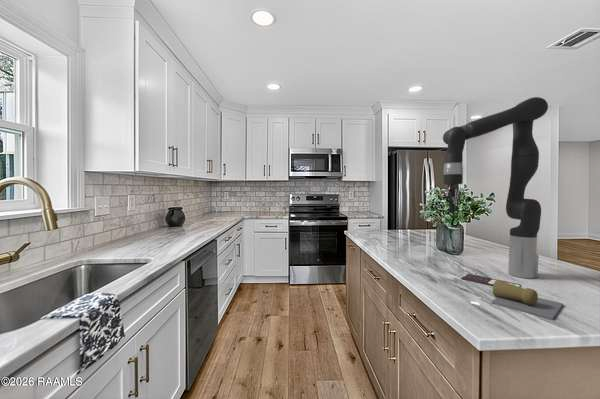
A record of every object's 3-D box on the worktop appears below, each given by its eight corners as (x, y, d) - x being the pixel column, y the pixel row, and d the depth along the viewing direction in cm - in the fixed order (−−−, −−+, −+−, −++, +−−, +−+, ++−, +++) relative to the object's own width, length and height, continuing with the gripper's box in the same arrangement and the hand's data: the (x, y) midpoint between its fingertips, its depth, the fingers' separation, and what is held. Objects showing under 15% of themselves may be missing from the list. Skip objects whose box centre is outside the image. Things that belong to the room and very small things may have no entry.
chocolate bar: (468, 273, 122) (520, 284, 108) (468, 275, 122) (520, 286, 109) (461, 278, 116) (515, 290, 102) (461, 280, 116) (515, 292, 103)
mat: (491, 303, 92) (491, 301, 92) (507, 291, 102) (507, 290, 102) (552, 320, 80) (552, 317, 80) (562, 305, 90) (562, 303, 90)
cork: (500, 296, 99) (539, 307, 89) (492, 297, 96) (531, 308, 86) (501, 279, 99) (540, 288, 90) (493, 279, 96) (533, 289, 86)
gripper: (455, 172, 117) (454, 214, 118) (468, 173, 125) (467, 212, 126) (437, 173, 123) (436, 212, 123) (450, 174, 131) (450, 211, 132)
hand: (452, 212), depth 125 cm, fingers closed
